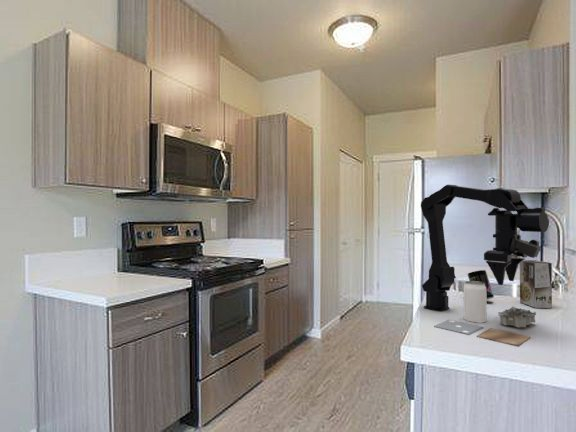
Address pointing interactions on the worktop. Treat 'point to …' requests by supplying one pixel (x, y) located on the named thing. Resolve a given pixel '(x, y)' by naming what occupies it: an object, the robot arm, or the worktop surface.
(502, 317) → the egg carton
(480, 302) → the can
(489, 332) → the walnut mat
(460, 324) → the slate mat
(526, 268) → the coffee box
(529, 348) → the worktop surface
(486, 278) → the supplement container
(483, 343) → the worktop surface
